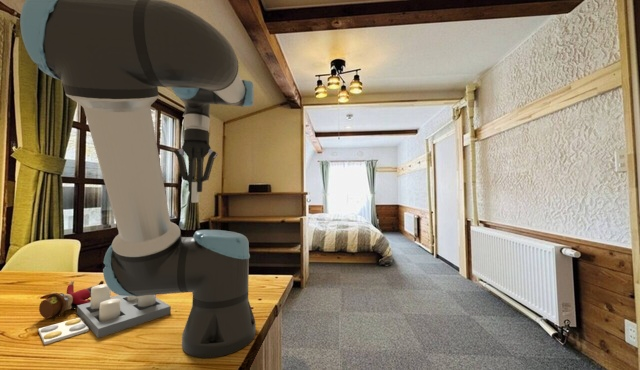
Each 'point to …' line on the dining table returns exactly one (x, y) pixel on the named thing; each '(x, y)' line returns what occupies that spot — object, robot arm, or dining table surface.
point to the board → (122, 316)
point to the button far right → (132, 298)
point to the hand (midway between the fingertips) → (195, 202)
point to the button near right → (146, 300)
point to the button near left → (109, 309)
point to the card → (62, 330)
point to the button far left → (99, 295)
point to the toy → (64, 301)
